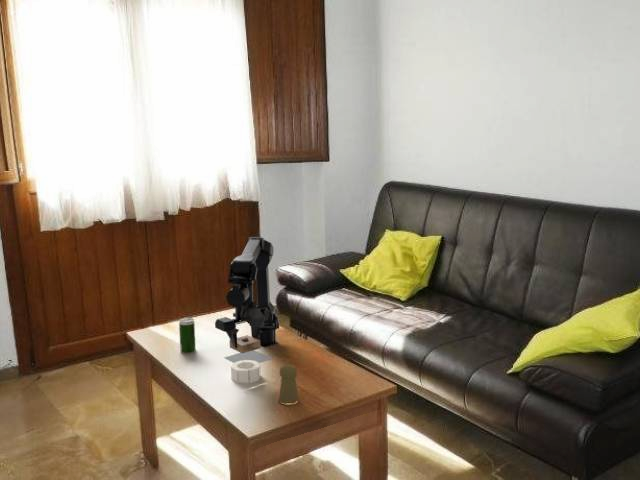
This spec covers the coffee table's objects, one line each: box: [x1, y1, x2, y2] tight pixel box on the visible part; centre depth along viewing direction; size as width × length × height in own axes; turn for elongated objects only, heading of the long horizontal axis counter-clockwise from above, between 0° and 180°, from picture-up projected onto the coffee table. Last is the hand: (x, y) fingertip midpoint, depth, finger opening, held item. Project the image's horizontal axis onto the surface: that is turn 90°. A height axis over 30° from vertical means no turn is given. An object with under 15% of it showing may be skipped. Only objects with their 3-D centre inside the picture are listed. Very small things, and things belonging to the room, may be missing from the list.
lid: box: [229, 334, 261, 353], centre depth 211 cm, size 7×7×3 cm
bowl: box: [230, 360, 261, 384], centre depth 213 cm, size 9×9×4 cm
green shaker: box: [278, 364, 300, 404], centre depth 197 cm, size 6×6×11 cm
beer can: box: [178, 317, 197, 355], centre depth 235 cm, size 5×5×12 cm
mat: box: [224, 350, 273, 364], centre depth 230 cm, size 12×12×1 cm
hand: (245, 345), depth 212 cm, fingers closed on lid, 7 cm apart
